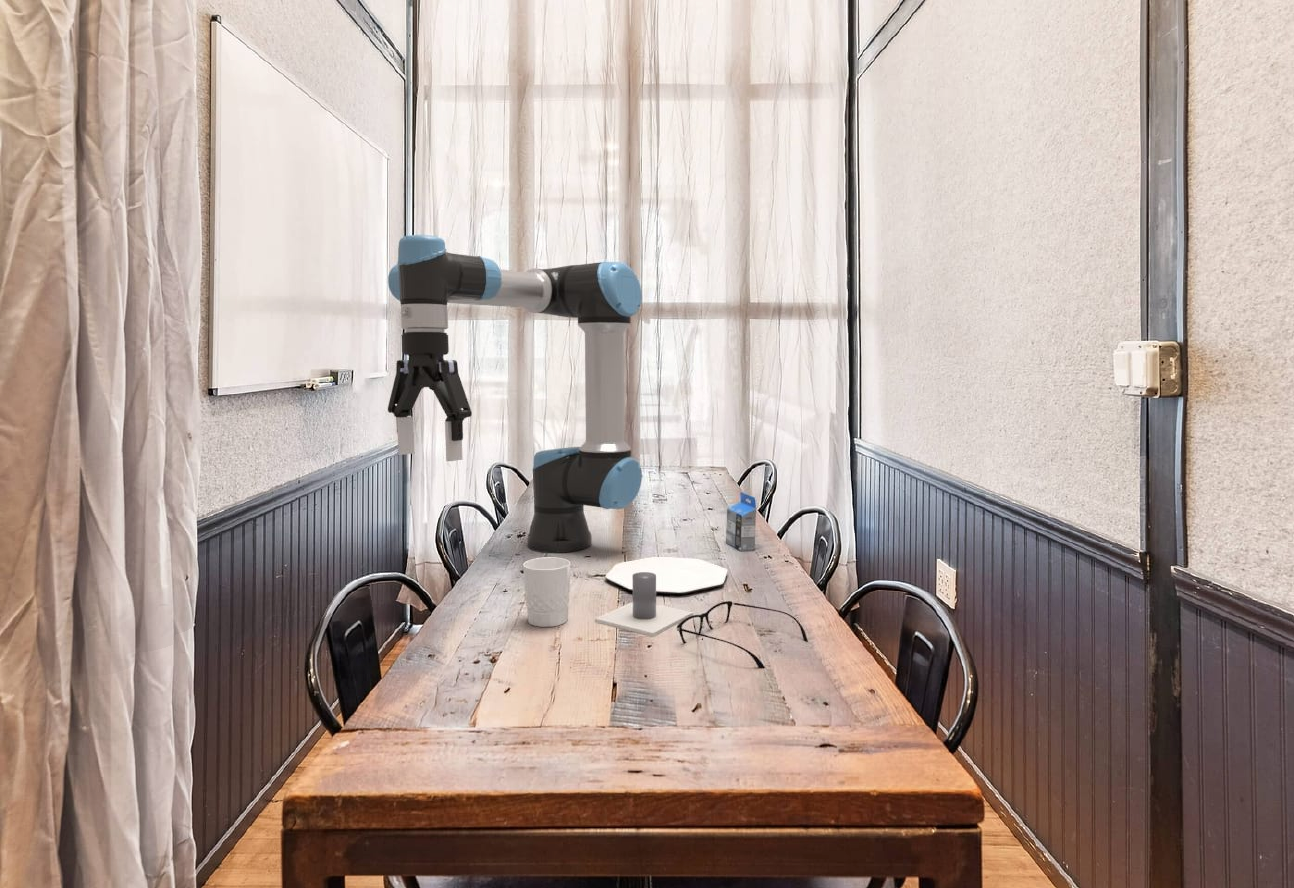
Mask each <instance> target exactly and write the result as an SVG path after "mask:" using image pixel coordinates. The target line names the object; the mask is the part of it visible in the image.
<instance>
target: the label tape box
mask: <svg viewBox="0 0 1294 888" xmlns="http://www.w3.org/2000/svg"><path fill="white" fill-rule="evenodd" d="M739 494H740V501H739V502H737V503H736V504H734V505H731V506H729V507H728V508H727V509H726V529H725V530H726V531H725V543H727V544H728V545H730V546H732V547H733V548H735V549H737V550H738V551H741V552H750V551H755V550H756V546H755V545H756V520H757V519H756V518H757V517H756V516H757V504H756V497H754V496H752V495H750V494H747V493H744V492H742V491H740V492H739ZM747 500H749V501H750V502H749V501H747Z"/></svg>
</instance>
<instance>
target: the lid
mask: <svg viewBox="0 0 1294 888" xmlns="http://www.w3.org/2000/svg"><path fill="white" fill-rule="evenodd" d="M632 577H633V591H632V601H631V602H629V603H626V604H624V605H622V606H620V607H618V608H616V609H613V610H611V611H608V612H606V613H604V614H602V615H600V616H599V615H598V616H597V617H595V618H594V623H596V624H597V623H598V624H601V625H605V626H608V627H613V628H617V629H621V630H624V631H625V630H626V631H629V632H633V633H637V634H641V635H644V636H649V637H652V638H653V637H655V636H657V635H659V634H661V633H663V632H665V631H667V630H669V629H670V628H673V627H675V626H677V625H678V624H679V623H681V622H682V621H683V620H684V619H686V618H688V617H690V616H693V615H694V612H693V611H687V610H685V609H684V610H683V609H679V608H674V607H671V606H666V605H661V604H657V593H656V574H654V573H649V572H639V573H635V574H633V576H632Z"/></svg>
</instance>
